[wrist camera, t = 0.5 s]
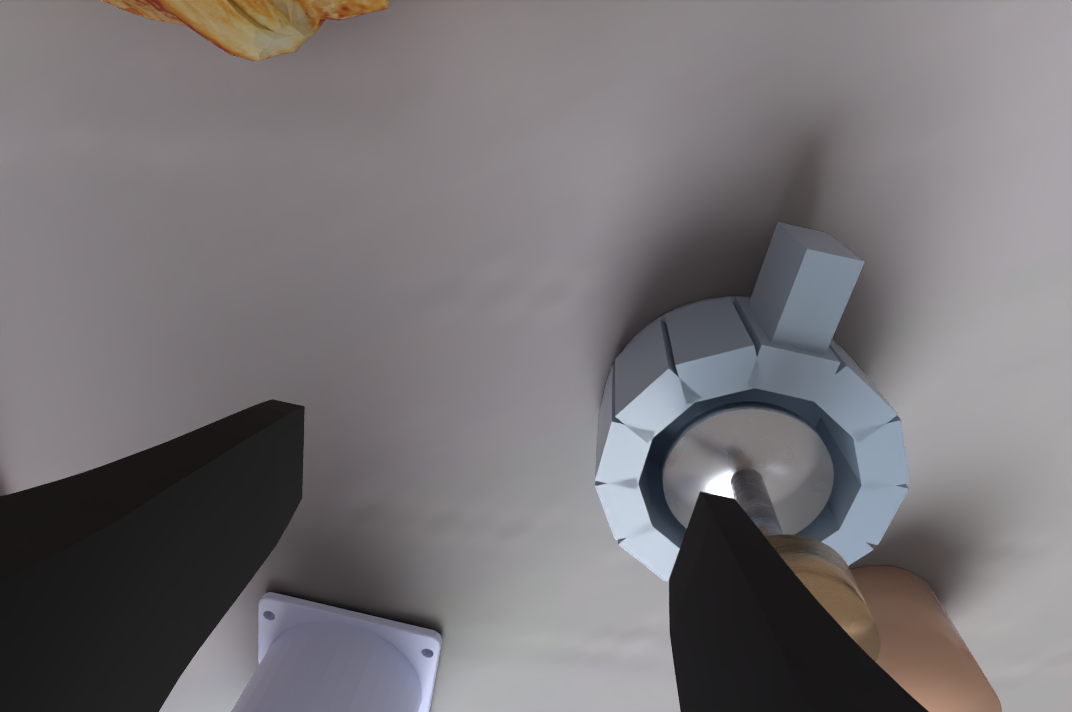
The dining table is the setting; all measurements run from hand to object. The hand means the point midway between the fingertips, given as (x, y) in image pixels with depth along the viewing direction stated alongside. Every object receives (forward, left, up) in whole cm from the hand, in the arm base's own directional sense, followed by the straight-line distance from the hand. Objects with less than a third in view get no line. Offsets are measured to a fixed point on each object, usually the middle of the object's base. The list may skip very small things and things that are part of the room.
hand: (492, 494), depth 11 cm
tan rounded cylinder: (-9, -15, -10) cm, 20 cm away
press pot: (-2, -7, -10) cm, 12 cm away
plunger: (-2, -7, -6) cm, 10 cm away
